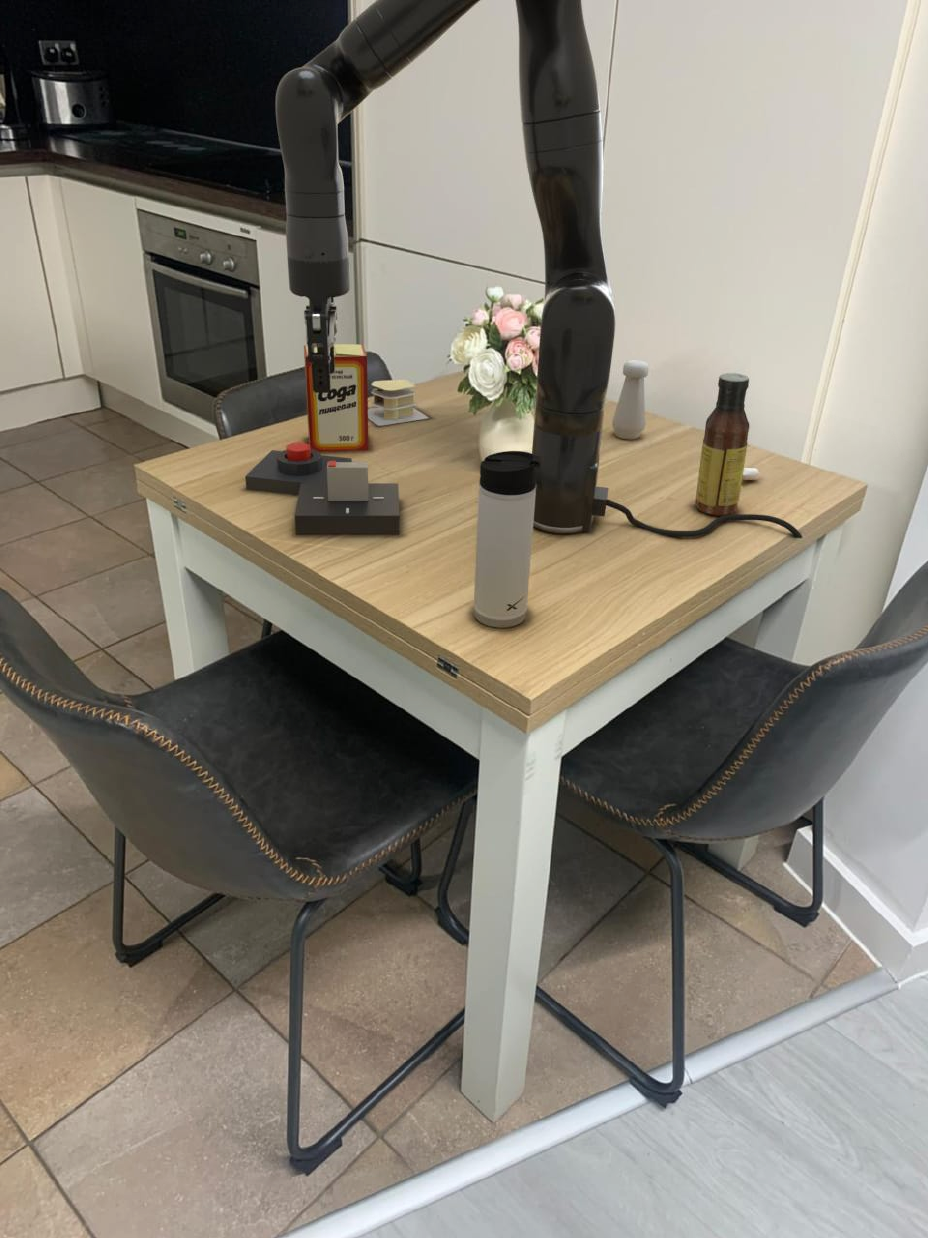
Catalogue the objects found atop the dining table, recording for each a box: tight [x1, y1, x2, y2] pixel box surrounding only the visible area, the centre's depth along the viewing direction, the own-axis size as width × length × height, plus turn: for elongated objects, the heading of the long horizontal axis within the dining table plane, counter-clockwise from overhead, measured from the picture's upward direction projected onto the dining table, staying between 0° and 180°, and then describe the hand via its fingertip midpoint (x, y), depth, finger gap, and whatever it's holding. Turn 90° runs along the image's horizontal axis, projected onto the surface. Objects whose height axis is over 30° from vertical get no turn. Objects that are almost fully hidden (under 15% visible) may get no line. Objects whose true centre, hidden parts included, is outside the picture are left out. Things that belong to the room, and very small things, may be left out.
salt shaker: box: [611, 359, 650, 441], centre depth 163 cm, size 6×6×13 cm
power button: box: [285, 442, 311, 461], centre depth 142 cm, size 4×4×2 cm
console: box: [294, 482, 400, 536], centre depth 133 cm, size 14×11×3 cm
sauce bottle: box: [695, 372, 750, 517], centre depth 136 cm, size 6×6×20 cm
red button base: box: [244, 449, 353, 496], centre depth 143 cm, size 13×11×4 cm
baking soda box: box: [303, 343, 370, 453], centre depth 154 cm, size 10×6×16 cm
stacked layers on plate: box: [368, 379, 429, 427], centre depth 170 cm, size 10×9×6 cm
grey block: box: [327, 461, 369, 501], centre depth 131 cm, size 6×2×5 cm, turn 94°
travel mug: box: [473, 450, 541, 629], centre depth 107 cm, size 6×7×20 cm
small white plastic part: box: [742, 466, 760, 481], centre depth 149 cm, size 4×6×3 cm, turn 89°
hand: (324, 381), depth 126 cm, fingers open, 8 cm apart
